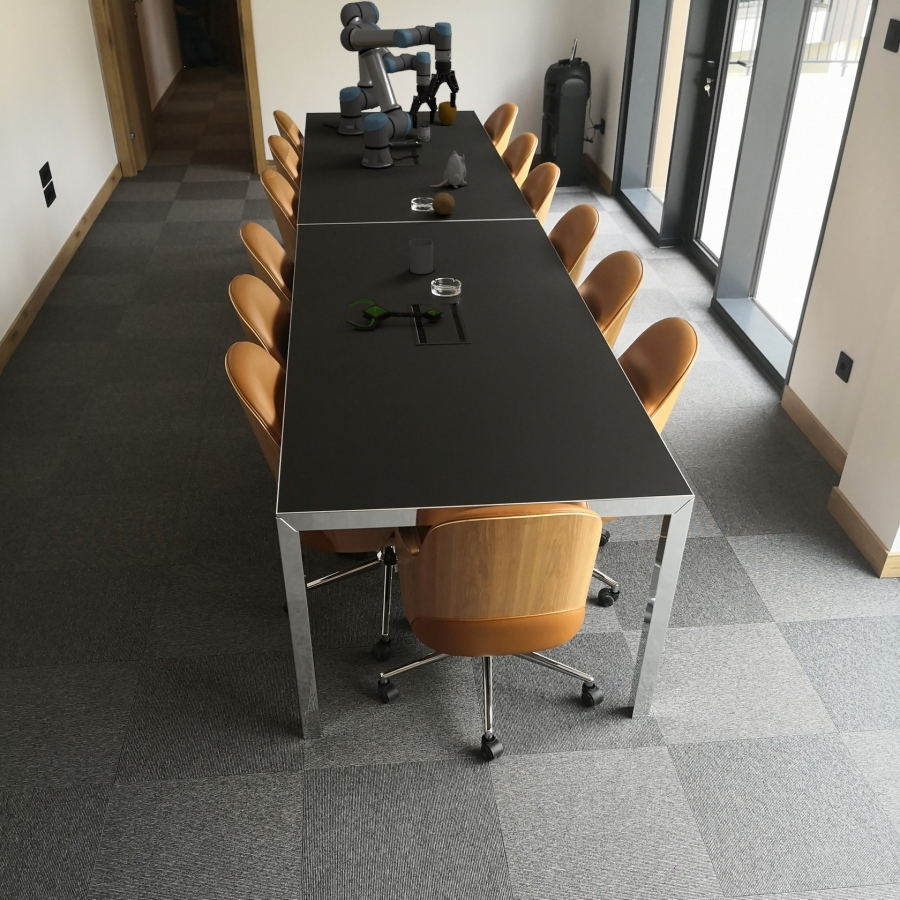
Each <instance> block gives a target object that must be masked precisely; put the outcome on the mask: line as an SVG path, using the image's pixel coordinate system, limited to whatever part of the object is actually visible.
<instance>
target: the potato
mask: <svg viewBox="0 0 900 900" xmlns="http://www.w3.org/2000/svg"><path fill="white" fill-rule="evenodd" d="M455 206H456V200H455V198H454V196H452V195H451V194H449V193H448V192H439V193H437V194H436V195H435V197H434V198H433V200H432V201H431V207H432V209H433V210H434V212H436V213H437V214H439V215H441V216H442V215H449V214H450V213H452V212H453V211H454V209H455Z"/></svg>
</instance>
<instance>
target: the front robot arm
mask: <svg viewBox="0 0 900 900" xmlns="http://www.w3.org/2000/svg"><path fill="white" fill-rule="evenodd" d="M452 35H453V33H452V25H451V23H450V22H448V21H447V22H446V21H445V22H444V21H440V22H435V24H434V26H430V25H425V24H422V25H421V24H420V25H419V24H418V25H416V26H415V27H409V28H389V29H387V28H386V29H385V28H384V29H381V27H380V25H378V24H375V23H368V22H365V23H361V24H354V25H348V26H346V27H345V28H344V27H343V29H342V30H341V32H340V35H339V41H340V44H341V46H342V48H343V49H345V50H346V51H348V52H351V53H355V52H357V54H358V53H359V56H360V57H361V58H363V59H364V61H365V64H366V67H367V70H368V73H369V76H370V79H371V82H372V85H373V88H374V91H375V94H376V97H377V100H378V103H379V106H378V107H379V109H380V111H379V112H376V113H370V114H367V115H366V116H365V117H364V118H363V123H364V125H363V128H364V134H363V138H364V139H363V140H364V151H363V155H362V159H361V166H362V167H363V168H366V169H371V170H381V169H387V168H390V167H392V166H394V161H401V160H403V159H406V158H419V157H420V155H419V154H413V155H412V154H411V155H410V154H409V155H404V156H401V157H398V158H397V157H392V155H391V152H390V151H391V150H390V147H389V145H390V144H389V141H391V140H396V139H400V138H403V137H406V136H407V135H408V134H409V132H410V131H411V128H412V118H411V117H410V116H411V115H409V112H406V111H405V110H403V106H402V105H400V104H398V102H397V99H396V96H395V93H394V89H393V87H392V83H391V81H390V77H389V75H388V74H387V71H386V68H385V65H384V62H383V59H382V56H381V51H382V48H387V49H389V48H398V49H408V48H412V47H418V46H419V47H420V46H425V45H429V46H434V60H435V61H434V69H435V72H436V73H431V81H430V84H429V88H428V92H427V96H428V97H430V98H429V99H430V105H431V110H430V111H431V112H435V114H436V113H437V111H436V104H437V97H436V95H437V93H438V91H439V89H440V87H441V85H443V84H445V83H446V85H447V86H448V88H449V90H450V92H449V102H450V107H452V108H455V107H456V106H457V104H456V100H457V94H458V93H459V91H460V87H459V83H458V80H457V77H456V70H453V69H452Z"/></svg>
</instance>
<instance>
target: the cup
mask: <svg viewBox="0 0 900 900" xmlns="http://www.w3.org/2000/svg"><path fill="white" fill-rule="evenodd" d="M408 253H409V272H411V273H412V274H416V275H426V274H430V273H432V272H434V241H433V240H431V239H428V238H422V237H421V238H420V237H419V238H414V239H411V240H410V241H409V242H408Z"/></svg>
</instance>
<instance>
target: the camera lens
mask: <svg viewBox="0 0 900 900" xmlns="http://www.w3.org/2000/svg"><path fill="white" fill-rule="evenodd" d="M419 138H421V139H422V140H421V141H420V142H424V143H425V142H426V143H428V142H430V140H431V126H430V125H429V124H420V125H419V126H418V139H419Z"/></svg>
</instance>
